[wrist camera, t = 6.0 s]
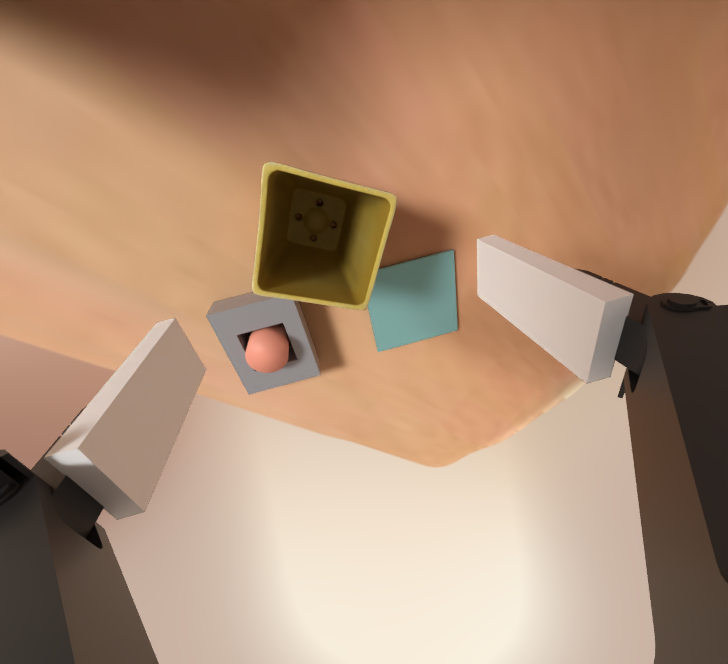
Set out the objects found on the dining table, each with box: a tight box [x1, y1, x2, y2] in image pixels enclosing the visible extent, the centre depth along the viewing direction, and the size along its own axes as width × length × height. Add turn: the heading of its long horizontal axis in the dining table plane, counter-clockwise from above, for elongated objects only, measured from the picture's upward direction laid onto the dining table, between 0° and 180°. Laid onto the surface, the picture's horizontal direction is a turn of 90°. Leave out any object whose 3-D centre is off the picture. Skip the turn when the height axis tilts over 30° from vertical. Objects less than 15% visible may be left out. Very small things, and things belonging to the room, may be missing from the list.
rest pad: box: [368, 250, 458, 352], centre depth 35 cm, size 10×10×1 cm
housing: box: [206, 292, 320, 395], centre depth 33 cm, size 10×8×3 cm
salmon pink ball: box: [245, 323, 289, 373], centre depth 32 cm, size 4×4×4 cm
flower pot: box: [252, 162, 397, 310], centre depth 25 cm, size 9×9×9 cm
